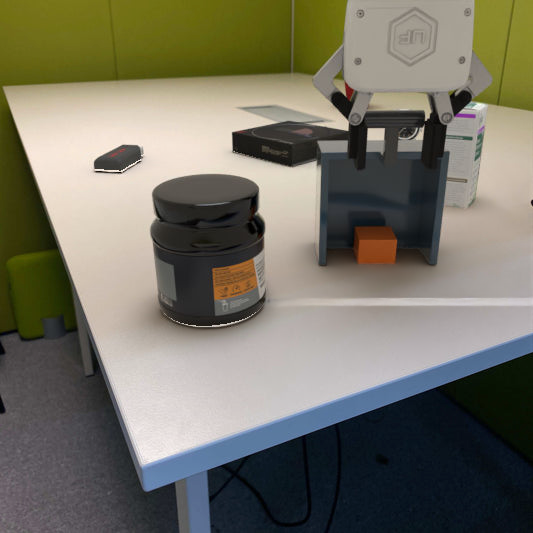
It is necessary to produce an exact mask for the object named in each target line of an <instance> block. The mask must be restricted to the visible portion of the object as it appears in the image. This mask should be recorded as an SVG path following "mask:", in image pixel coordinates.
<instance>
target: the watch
mask: <svg viewBox="0 0 533 533" xmlns="http://www.w3.org/2000/svg"><path fill="white" fill-rule="evenodd" d="M396 110H412V109H410V108H409V109H408V108H397V109H396ZM421 132H422V133H423V128H399V139H398V140H417V138H418V136H419V134H420V133H421Z"/></svg>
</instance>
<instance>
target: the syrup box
mask: <svg viewBox="0 0 533 533" xmlns="http://www.w3.org/2000/svg"><path fill="white" fill-rule="evenodd" d="M488 108H489V105H488V103H485V102H478V101H471V102H470V103H469V104H468V105H467V106H466V107H465V108H464V109H462V110H461V111H460V112H459V113H458V114H457V115H456V116H455V117H454V118H453V121H452V122H451V123H450V124H447V132H446V140H445V149H447V150H448V151H450V156H449V165H448V174H447V182H446V191H445V200H444V207H450V208H457V209H464V210H468V209H469V207H471V205H472V204H473V203H474V201H475V199H476V197H477V190H478V181H479V174H480V169H481V168H480V167H481V160H482V153H483V148H484V147H483V146H484V140H485V139H484V137H485V130H486V122H487V115H488V110H489V109H488Z"/></svg>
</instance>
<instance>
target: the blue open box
mask: <svg viewBox="0 0 533 533" xmlns="http://www.w3.org/2000/svg"><path fill="white" fill-rule="evenodd" d="M364 117H365V124H366V125H367V127H368V129H384V132H383V133H384V135H383V136H384V137H383V139H367V150H366V165H365V169H363V170H356V167H355V165H354V163H353V159H348V157H347V147H348V141H317V160H316V168H315V169H316V171H315V174H316V176H315V210H314V212H315V214H314V215H315V217H314V246H315V251H316V257H317V263H318V265H319V266H320V265H321V266H323V265H325V266H326V265H327V250H334V249H335V250H336V249H338V250H340V249H341V250H347V249H349V250H350V249H353V247H354V230H355V227H360V226H390V227H391V229H392V231H393V233H394V235H395V237H396V239H397V247H396V249H419V251H420V252H421V254H422V255H423V256H424V258H425V260H426V261H427V262H428V264H429V265H438V261H439V260H438V259H439V251H440V243H441V233H442V225H443V216H444V207H445V206H444V200H445V191H446V182H447V174H448V165H449V156H450V151H448V150H447V149H445V148H444V155H443V158H438V161H437V168H436V170H429V169H428V168H427V167H426V166H425V165H424V164H423V163H422V162H421V152H422V143H423V139H416V140H398V139H399V128H422V129H424V124H425V121H426V111H425V110H424V109H411V110H397V109H386V110H385V109H384V110H383V109H381V110H380V109H378V110H375V109H374V110H372V109H371V110H370V109H369V110H368V109H367V110H366V112H365V115H364ZM353 250H354V249H353Z"/></svg>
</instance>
